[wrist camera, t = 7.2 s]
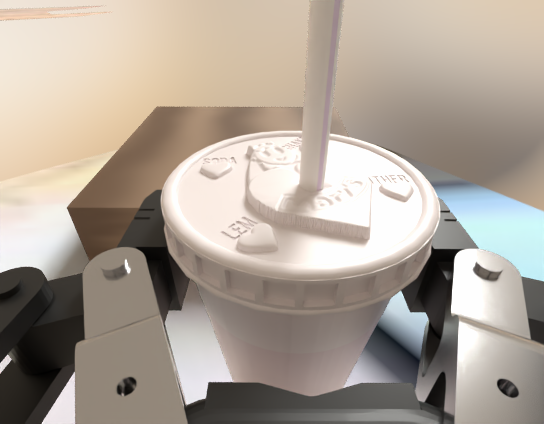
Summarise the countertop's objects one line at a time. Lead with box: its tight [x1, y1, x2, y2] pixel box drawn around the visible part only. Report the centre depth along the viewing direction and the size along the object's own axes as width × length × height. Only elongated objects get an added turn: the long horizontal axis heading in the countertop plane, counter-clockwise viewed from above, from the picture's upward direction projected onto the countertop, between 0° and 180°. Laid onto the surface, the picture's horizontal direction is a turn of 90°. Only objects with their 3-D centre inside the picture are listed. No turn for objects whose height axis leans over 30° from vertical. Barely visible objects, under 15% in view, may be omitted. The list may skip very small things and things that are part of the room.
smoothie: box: [161, 0, 440, 396], centre depth 9 cm, size 6×6×14 cm
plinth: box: [67, 107, 350, 261], centre depth 25 cm, size 16×16×4 cm
